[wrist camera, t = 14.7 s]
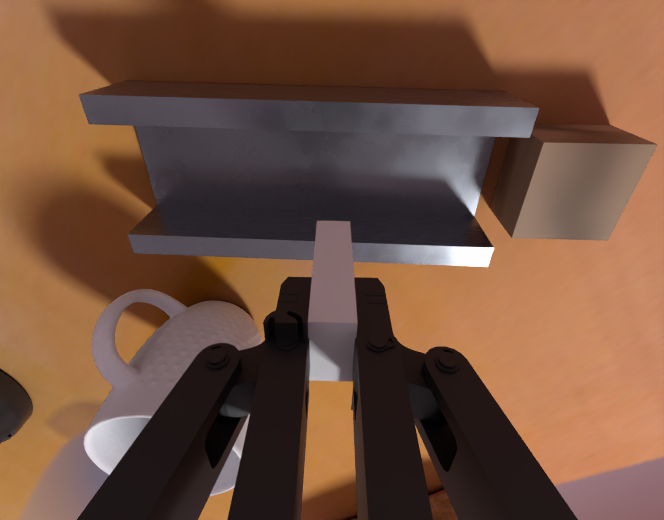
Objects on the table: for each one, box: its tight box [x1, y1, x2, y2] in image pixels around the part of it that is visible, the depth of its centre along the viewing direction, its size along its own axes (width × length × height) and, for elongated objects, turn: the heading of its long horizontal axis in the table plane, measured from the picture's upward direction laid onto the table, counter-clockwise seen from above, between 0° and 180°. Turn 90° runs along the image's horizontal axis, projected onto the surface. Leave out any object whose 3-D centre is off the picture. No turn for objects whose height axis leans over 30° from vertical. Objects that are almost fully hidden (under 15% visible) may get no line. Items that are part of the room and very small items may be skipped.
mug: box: [84, 289, 262, 496], centre depth 29 cm, size 15×11×13 cm
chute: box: [79, 80, 539, 267], centre depth 23 cm, size 24×10×5 cm, turn 89°
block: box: [490, 124, 657, 240], centre depth 23 cm, size 6×6×4 cm
